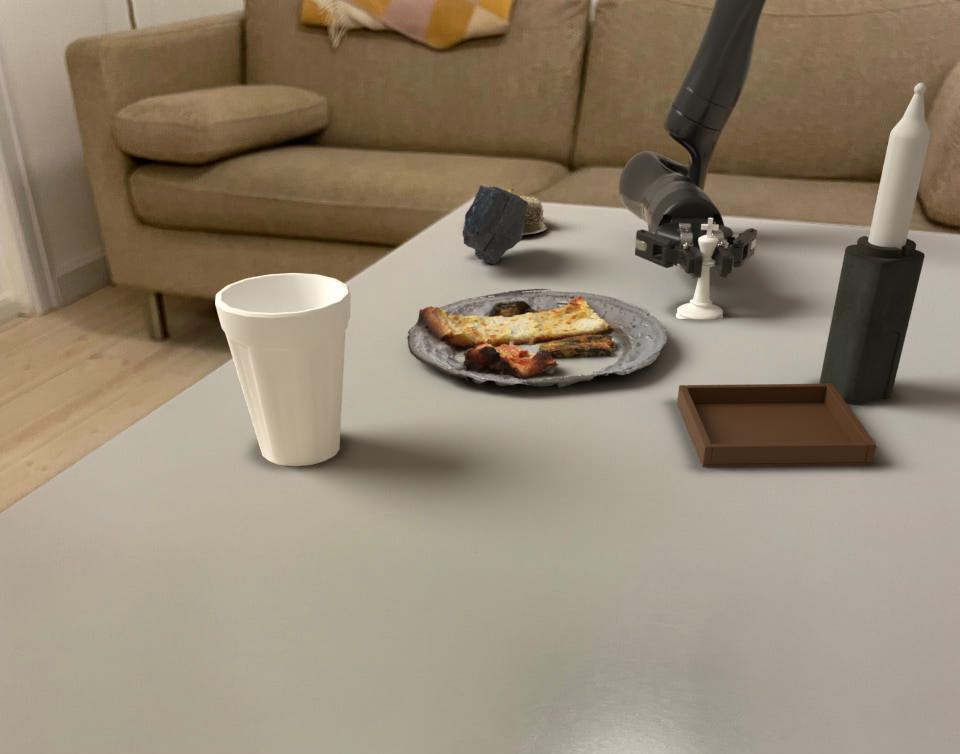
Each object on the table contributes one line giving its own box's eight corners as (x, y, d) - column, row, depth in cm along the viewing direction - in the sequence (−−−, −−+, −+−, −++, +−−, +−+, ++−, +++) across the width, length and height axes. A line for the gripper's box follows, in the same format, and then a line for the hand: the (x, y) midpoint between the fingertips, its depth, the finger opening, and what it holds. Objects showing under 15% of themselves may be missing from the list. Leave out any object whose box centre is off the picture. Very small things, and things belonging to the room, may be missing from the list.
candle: (849, 413, 90) (918, 90, 75) (811, 391, 94) (871, 80, 79) (895, 403, 92) (972, 85, 77) (857, 382, 96) (923, 76, 81)
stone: (482, 246, 132) (482, 162, 127) (529, 248, 132) (531, 163, 126) (461, 279, 121) (460, 188, 116) (512, 282, 120) (514, 190, 115)
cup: (228, 440, 87) (202, 281, 79) (344, 421, 90) (330, 266, 82) (253, 492, 79) (227, 323, 71) (379, 469, 82) (367, 304, 74)
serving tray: (827, 408, 91) (832, 383, 90) (870, 472, 81) (877, 444, 80) (676, 409, 91) (679, 384, 90) (701, 473, 81) (705, 446, 80)
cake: (457, 236, 138) (454, 192, 136) (504, 221, 145) (502, 180, 142) (515, 242, 133) (513, 197, 130) (562, 227, 139) (561, 184, 136)
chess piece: (675, 308, 113) (685, 211, 107) (721, 310, 112) (734, 212, 106) (676, 324, 109) (686, 224, 103) (724, 325, 108) (737, 225, 102)
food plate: (428, 412, 91) (427, 373, 89) (391, 323, 109) (389, 290, 107) (698, 387, 95) (703, 349, 93) (619, 306, 113) (621, 273, 111)
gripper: (624, 188, 116) (646, 229, 102) (748, 186, 116) (787, 228, 102) (619, 257, 121) (640, 306, 107) (739, 255, 121) (774, 304, 107)
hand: (711, 267), depth 104 cm, fingers closed on chess piece
